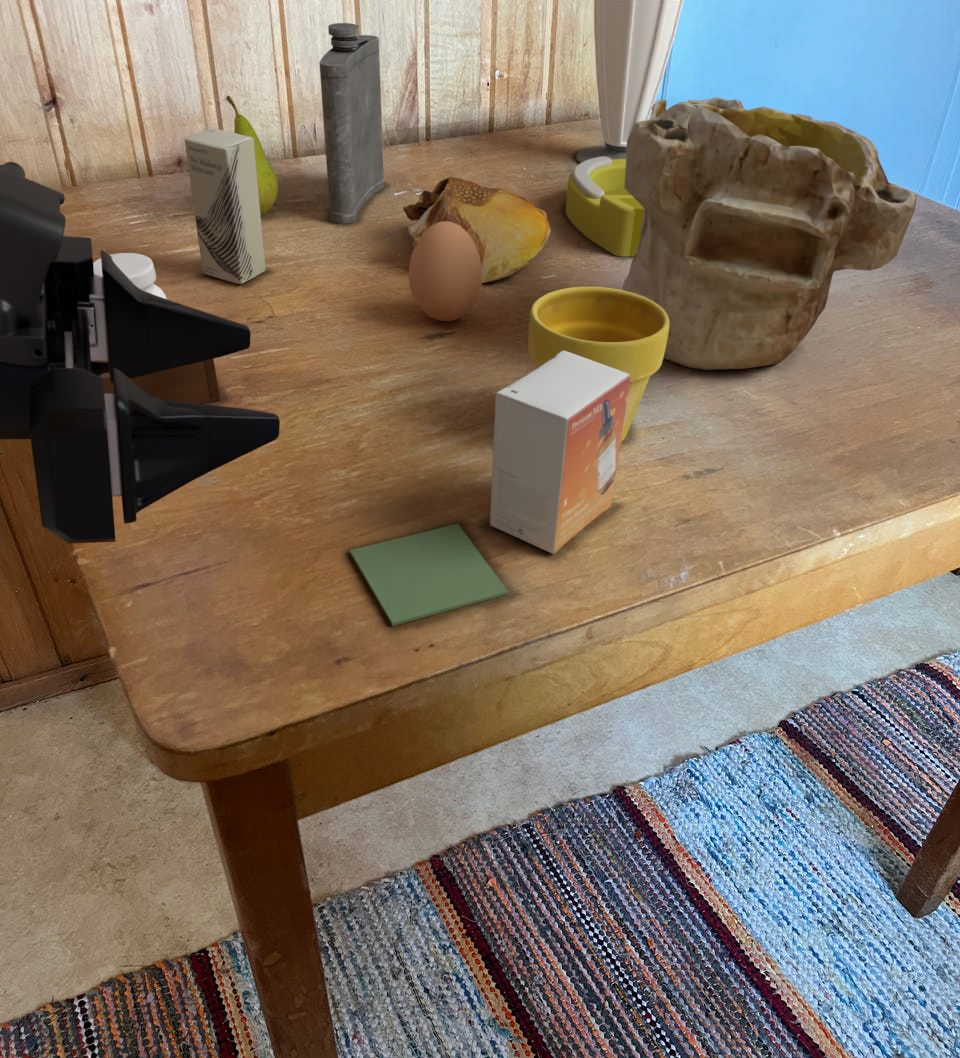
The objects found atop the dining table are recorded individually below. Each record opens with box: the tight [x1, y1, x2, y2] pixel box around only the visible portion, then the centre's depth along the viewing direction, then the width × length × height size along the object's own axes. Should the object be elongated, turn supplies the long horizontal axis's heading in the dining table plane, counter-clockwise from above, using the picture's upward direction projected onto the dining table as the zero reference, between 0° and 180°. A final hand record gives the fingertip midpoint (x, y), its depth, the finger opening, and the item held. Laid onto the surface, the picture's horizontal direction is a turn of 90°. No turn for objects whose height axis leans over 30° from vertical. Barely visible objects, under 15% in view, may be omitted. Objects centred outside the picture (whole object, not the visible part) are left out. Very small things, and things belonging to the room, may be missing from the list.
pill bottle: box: [93, 252, 167, 372], centre depth 79 cm, size 6×6×10 cm
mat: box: [349, 523, 508, 627], centre depth 65 cm, size 8×8×1 cm
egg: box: [408, 221, 483, 322], centre depth 90 cm, size 7×7×9 cm
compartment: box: [100, 358, 221, 404], centre depth 81 cm, size 10×10×4 cm
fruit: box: [225, 95, 279, 217], centre depth 107 cm, size 6×6×12 cm
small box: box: [489, 351, 631, 555], centre depth 67 cm, size 8×6×10 cm
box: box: [184, 127, 267, 285], centre depth 95 cm, size 5×4×13 cm
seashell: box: [402, 176, 551, 284], centre depth 104 cm, size 17×8×15 cm
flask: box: [319, 22, 385, 225], centre depth 109 cm, size 4×14×18 cm, turn 168°
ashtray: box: [565, 157, 644, 258], centre depth 112 cm, size 16×21×5 cm
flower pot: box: [527, 286, 670, 443], centre depth 76 cm, size 10×10×10 cm
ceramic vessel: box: [621, 96, 917, 371], centre depth 84 cm, size 23×24×25 cm
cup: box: [576, 0, 685, 164], centre depth 122 cm, size 12×12×22 cm
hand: (263, 378), depth 48 cm, fingers open, 9 cm apart
